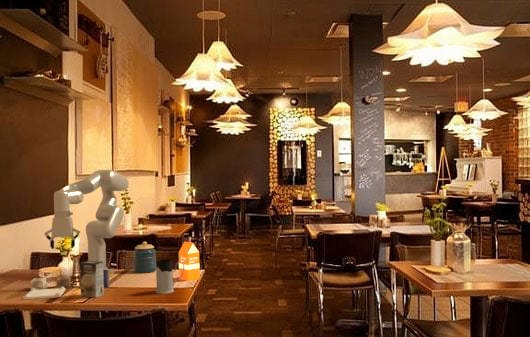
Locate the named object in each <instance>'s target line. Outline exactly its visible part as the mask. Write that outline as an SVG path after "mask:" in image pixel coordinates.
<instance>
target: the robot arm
mask: <svg viewBox="0 0 530 337" xmlns="http://www.w3.org/2000/svg"><path fill="white" fill-rule="evenodd" d="M99 188H101V193H102V198H101V201H100V203H99V204H98V205H99V206H98V208H97V209H96V212H95V219H96V220H91V221H89V222H87V224H86V226H85V234H86V240H87V257H88V259H87V261H101V262H103V269H108V267H107V255H106V254H107V253H106V252H107V251H106V248H107V247H106V246H107V245H106V242H105V239H111V238H113V237H115V236H116V234H117V232H118V231H119V228H120V226H121V224H122V221H123V218H124V209H123V208H122V206H121V205H117V204H118V199H117V195H116V194H115V193H114V192H124V191H126V190H128V188H129V180H128V179H127V177H126V176H124V175H123V174H122V173H119V172H117V171H116V170H112V169H99V170H96V171H94V172H92V173H91V174H89V175H87V176H86V177H85V178H83V179H81V180H78V181H75V182H73V183H69V184H67V185H66V186H64V187H62V188H60V189H59V190H56V191H55V192H54V193H53V206H54V207H53V210H54V211H53V212H54V214H53V216H54V217H52V224H51V229H49V230H47V231H45V232H44V236H45V237H46V239H47V240H48V241H49V243H50V246H49V247H50V248H51V249H52V250H53V249H55V240H54V239H55V238H70V239H71V240H70V243H71V245H70V246H71V249H73V248H74V247H75V246H76V239H77V238H78V237H79V236H80V233H81V231H80V230H79V229H76V228H75V227H74V223H73V218H72V216H73V215H74V213H73V211H71V208H70V207H71V206H70V205H79V204H80V203H82V202H83V200H84V195H88V194H92V193H93V192H94V191H96V190H97V189H99ZM74 233H76V234H75V235H74ZM49 234H51V236H50V235H49ZM114 273H115V269H109V274H114Z"/></svg>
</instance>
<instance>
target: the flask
mask: <svg viewBox="0 0 530 337" xmlns="http://www.w3.org/2000/svg"><path fill="white" fill-rule="evenodd" d="M109 270H110V269H109V268H107V269H103V279H104V288H109V287H110V285H111V284H110V273H109Z"/></svg>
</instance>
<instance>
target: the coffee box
mask: <svg viewBox="0 0 530 337" xmlns="http://www.w3.org/2000/svg"><path fill="white" fill-rule="evenodd" d="M79 269H80V270H79V272H80V297H82V298H83V297H86V298H99V297H102V296H104V291H105V290H104V288H105V287H104V279H103V262H101V261H88V260H86V261H82V262H80V268H79Z"/></svg>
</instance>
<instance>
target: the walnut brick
mask: <svg viewBox="0 0 530 337" xmlns="http://www.w3.org/2000/svg"><path fill="white" fill-rule="evenodd" d="M61 287H64V288H65V290H68V289H70V288H71V275H70V276H69V275H67V276H58V277H57V279H56V289H58V288H61Z"/></svg>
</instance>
